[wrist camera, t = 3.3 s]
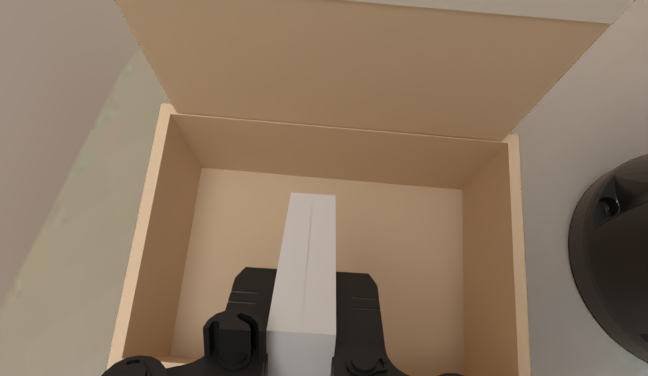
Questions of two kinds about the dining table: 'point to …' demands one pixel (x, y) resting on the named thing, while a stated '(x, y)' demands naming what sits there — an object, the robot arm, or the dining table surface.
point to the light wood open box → (351, 235)
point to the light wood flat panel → (367, 58)
